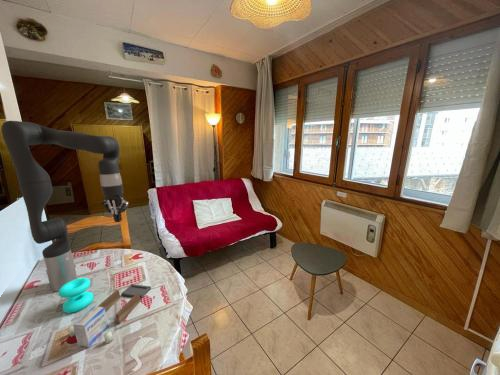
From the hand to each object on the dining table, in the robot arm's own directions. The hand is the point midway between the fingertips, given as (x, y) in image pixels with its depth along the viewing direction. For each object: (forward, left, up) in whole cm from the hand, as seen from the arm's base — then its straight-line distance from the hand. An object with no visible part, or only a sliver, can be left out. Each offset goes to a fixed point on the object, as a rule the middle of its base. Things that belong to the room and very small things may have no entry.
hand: (118, 221), depth 89 cm
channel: (+8, -15, -32) cm, 36 cm away
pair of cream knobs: (+8, -27, -32) cm, 42 cm away
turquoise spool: (-11, -15, -32) cm, 37 cm away
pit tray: (+8, -5, -32) cm, 33 cm away
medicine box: (+8, -26, -32) cm, 42 cm away
